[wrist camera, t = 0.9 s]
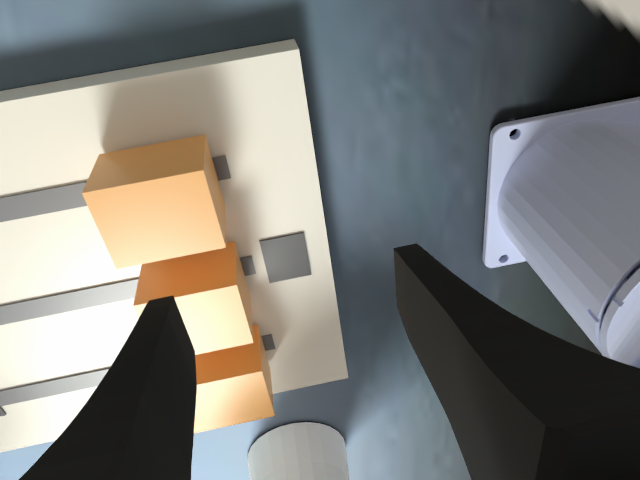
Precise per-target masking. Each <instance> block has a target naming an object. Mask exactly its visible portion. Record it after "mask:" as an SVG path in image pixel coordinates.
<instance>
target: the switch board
mask: <svg viewBox="0 0 640 480" xmlns="http://www.w3.org/2000/svg"><path fill="white" fill-rule="evenodd" d="M205 134H206V138H207V142H208V145H209V149H210V153H211V156H212V160H213V163H214V167H215V171H216V174H217V178H218V182H219V185H220V189H221V192H222V196H223V200H224V203H225V218H226V243H230V242H235V243H236V247H237V250H238V254H239V258H240V261H241V265H242V268H243V272H244V276H245V279H246V283H247V286H248V290H249V294H250V299H251V313H252V325H257V324H258V326H259V330H260V334H261V337H262V341H263V344H264V348H265V352H266V355H267V359H268V362H269V366H270V372H271V382H272V392H273V394H276V393H280V392H285V391H290V390H294V389H299V388H304V387H308V386H313V385H318V384H322V383H327V382H332V381H336V380H341V379H346V378H348V372H347V366H346V359H345V352H344V346H343V339H342V332H341V326H340V319H339V312H338V306H337V299H336V292H335V286H334V279H333V272H332V266H331V259H330V252H329V246H328V239H327V232H326V226H325V219H324V212H323V206H322V199H321V192H320V186H319V179H318V172H317V165H316V159H315V152H314V145H313V139H312V132H311V125H310V119H309V112H308V105H307V99H306V92H305V85H304V79H303V72H302V65H301V59H300V52H299V48H298V46H297V44H296V42H295V39H290V40H285V41H279V42H274V43H268V44H262V45H257V46H251V47H245V48H240V49H234V50H229V51H223V52H217V53H212V54H206V55H200V56H195V57H189V58H183V59H178V60H172V61H167V62H161V63H155V64H150V65H144V66H138V67H133V68H127V69H122V70H116V71H110V72H105V73H99V74H93V75H88V76H82V77H77V78H71V79H65V80H60V81H54V82H48V83H43V84H37V85H32V86H26V87H20V88H15V89H9V90H3V91H0V452H4V451H9V450H14V449H18V448H23V447H28V446H32V445H37V444H42V443H46V442H51V441H56V440H57V439H58V437H59V436H60V435H61V434H62V433H63V432H64V430H65V429H66V428H67V427H68V426H69V424H70V423H71V422H72V421H73V419H74V418H75V417H76V416H77V414H78V413H79V412H80V410H81V409H82V408H83V406H84V405H85V404H86V402H87V401H88V399H89V398H90V397H91V395H92V394H93V392H94V391H95V389H96V388H97V386H98V385H99V383H100V382H101V380H102V379H103V377H104V376H105V375H106V373H107V372H108V370H109V368H110V367H111V365H112V364H113V362H114V360H115V359H116V357H117V355H118V354H119V352H120V350H121V349H122V347H123V345H124V344H125V342H126V340H127V338H128V337H129V335H130V333H131V331H132V330H133V328H134V326H135V324H136V322H137V321H138V319H139V318H138V316H137V313H136V311H135V309H134V307H133V304H134V299H135V294H136V289H137V285H138V280H139V275H140V270H141V265H142V264H141V265H136V266H131V267H126V268H120V269H116V267H115V265H114V263H113V261H112V259H111V256H110V254H109V252H108V250H107V248H106V245H105V243H104V241H103V239H102V237H101V234H100V232H99V230H98V228H97V226H96V223H95V221H94V219H93V217H92V215H91V212H90V210H89V208H88V206H87V204H86V201H85V199H84V197H83V195H82V192H83V189H84V187H85V185H86V183H87V180H88V178H89V176H90V174H91V171H92V169H93V167H94V165H95V162H96V160H97V158H98V156H99V154H103V153H109V152H114V151H119V150H125V149H130V148H135V147H141V146H146V145H152V144H157V143H162V142H168V141H173V140H179V139H184V138H189V137H195V136H200V135H205Z"/></svg>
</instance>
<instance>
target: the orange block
mask: <svg viewBox="0 0 640 480" xmlns="http://www.w3.org/2000/svg"><path fill="white" fill-rule="evenodd" d="M82 195H83V197H84V199H85V201H86V204H87V206H88V208H89V210H90V212H91V215H92V217H93V219H94V221H95V223H96V226H97V228H98V230H99V232H100V234H101V237H102V239H103V241H104V243H105V245H106V248H107V250H108V252H109V254H110V256H111V259H112V261H113V263H114V265H115V267H116V269H120V268H126V267H131V266H136V265H141V264H146V263H151V262H156V261H161V260H166V259H171V258H176V257H181V256H186V255H191V254H196V253H201V252H206V251H212V250H217V249H222V248H226V218H225V203H224V200H223V196H222V192H221V189H220V185H219V182H218V178H217V174H216V171H215V167H214V163H213V160H212V156H211V153H210V149H209V145H208V142H207V138H206V134H205V135H200V136H195V137H189V138H184V139H179V140H173V141H168V142H162V143H157V144H152V145H146V146H141V147H135V148H130V149H125V150H119V151H114V152H109V153H103V154H99V156H98V158H97V160H96V162H95V165H94V167H93V169H92V171H91V174H90V176H89V178H88V180H87V183H86V185H85V187H84V189H83V192H82Z"/></svg>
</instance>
